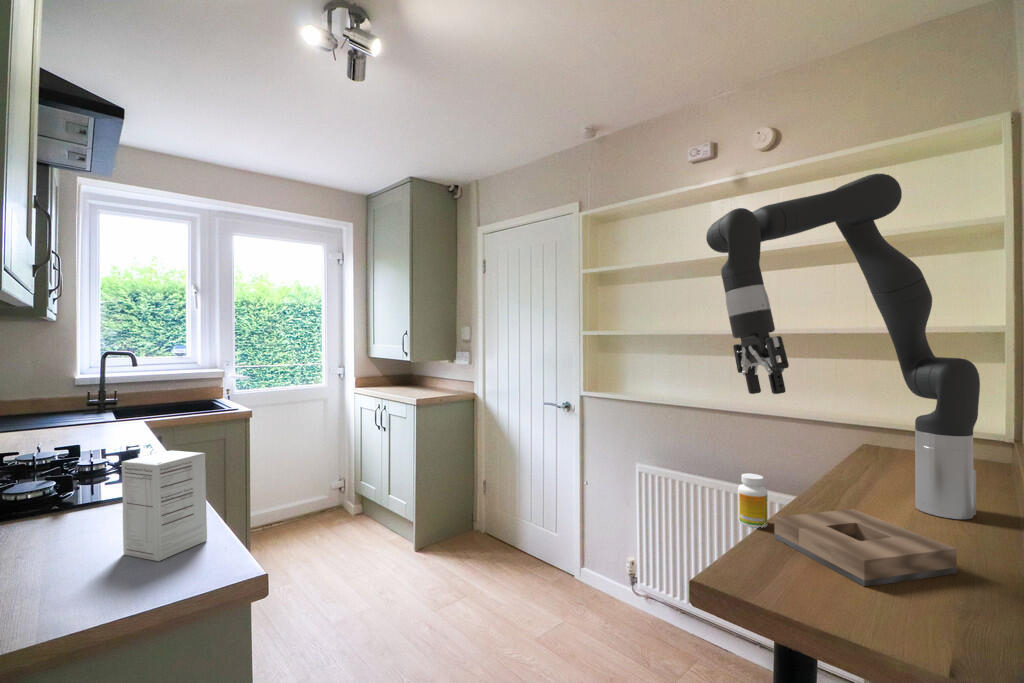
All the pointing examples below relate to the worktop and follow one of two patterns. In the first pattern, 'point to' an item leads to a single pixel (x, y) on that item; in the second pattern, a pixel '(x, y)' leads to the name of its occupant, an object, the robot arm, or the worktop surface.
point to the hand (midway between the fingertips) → (766, 393)
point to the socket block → (865, 547)
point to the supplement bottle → (752, 501)
